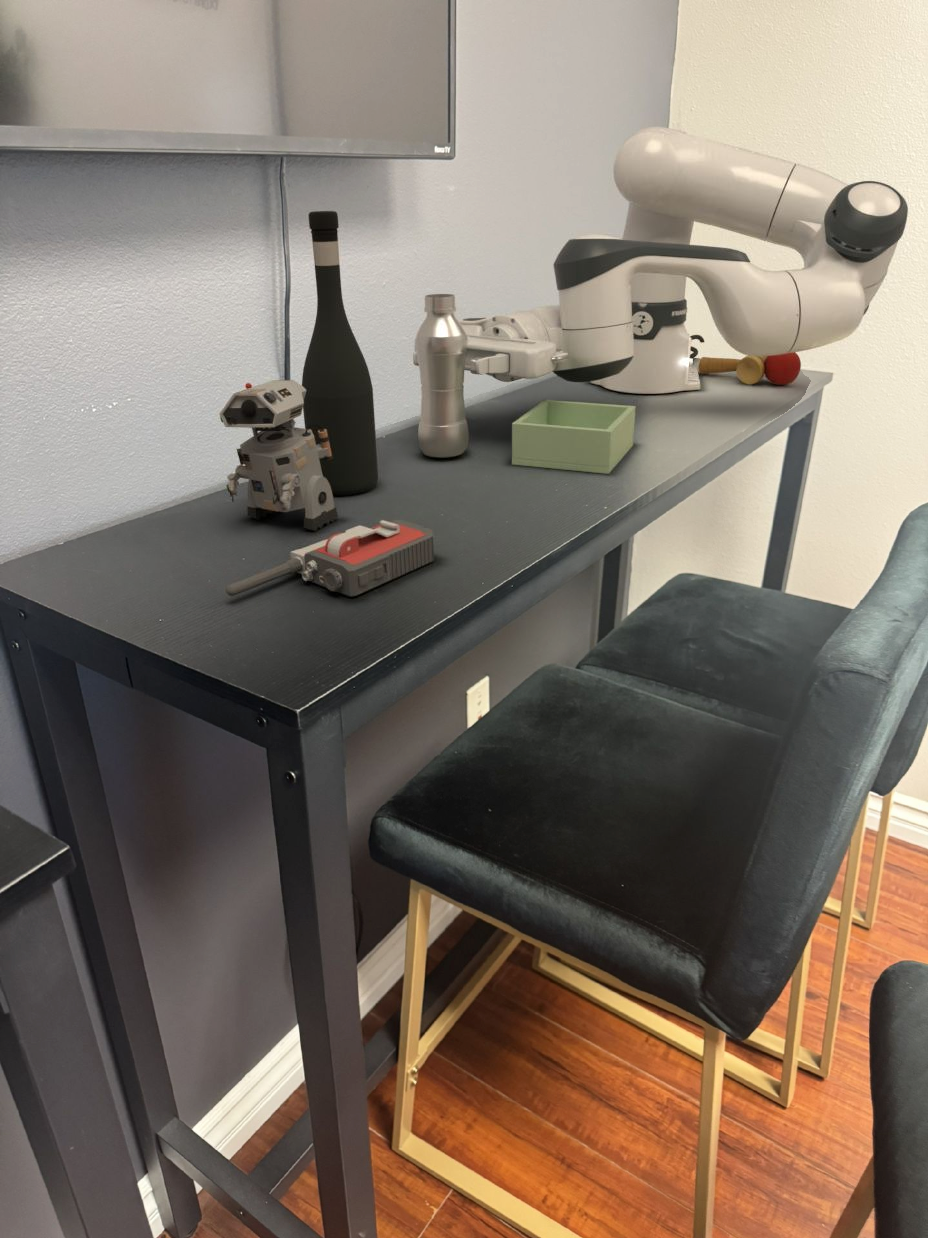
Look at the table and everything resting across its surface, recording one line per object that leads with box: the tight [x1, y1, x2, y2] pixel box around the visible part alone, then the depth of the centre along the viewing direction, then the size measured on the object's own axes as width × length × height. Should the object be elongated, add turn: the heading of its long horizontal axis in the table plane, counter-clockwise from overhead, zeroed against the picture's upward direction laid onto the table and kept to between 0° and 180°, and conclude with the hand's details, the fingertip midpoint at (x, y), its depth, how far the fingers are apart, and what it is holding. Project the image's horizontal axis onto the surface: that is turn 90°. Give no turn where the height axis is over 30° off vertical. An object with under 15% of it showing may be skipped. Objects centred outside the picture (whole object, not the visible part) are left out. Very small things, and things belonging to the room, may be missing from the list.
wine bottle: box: [301, 210, 379, 496], centre depth 100 cm, size 8×8×30 cm
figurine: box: [219, 379, 338, 532], centre depth 92 cm, size 9×12×15 cm
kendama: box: [698, 352, 802, 386], centre depth 156 cm, size 8×6×18 cm
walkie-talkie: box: [225, 518, 435, 598], centre depth 82 cm, size 9×4×20 cm
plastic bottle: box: [414, 293, 470, 458], centre depth 114 cm, size 6×7×20 cm
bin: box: [511, 399, 636, 475], centre depth 116 cm, size 14×13×5 cm
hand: (445, 363), depth 113 cm, fingers open, 8 cm apart
